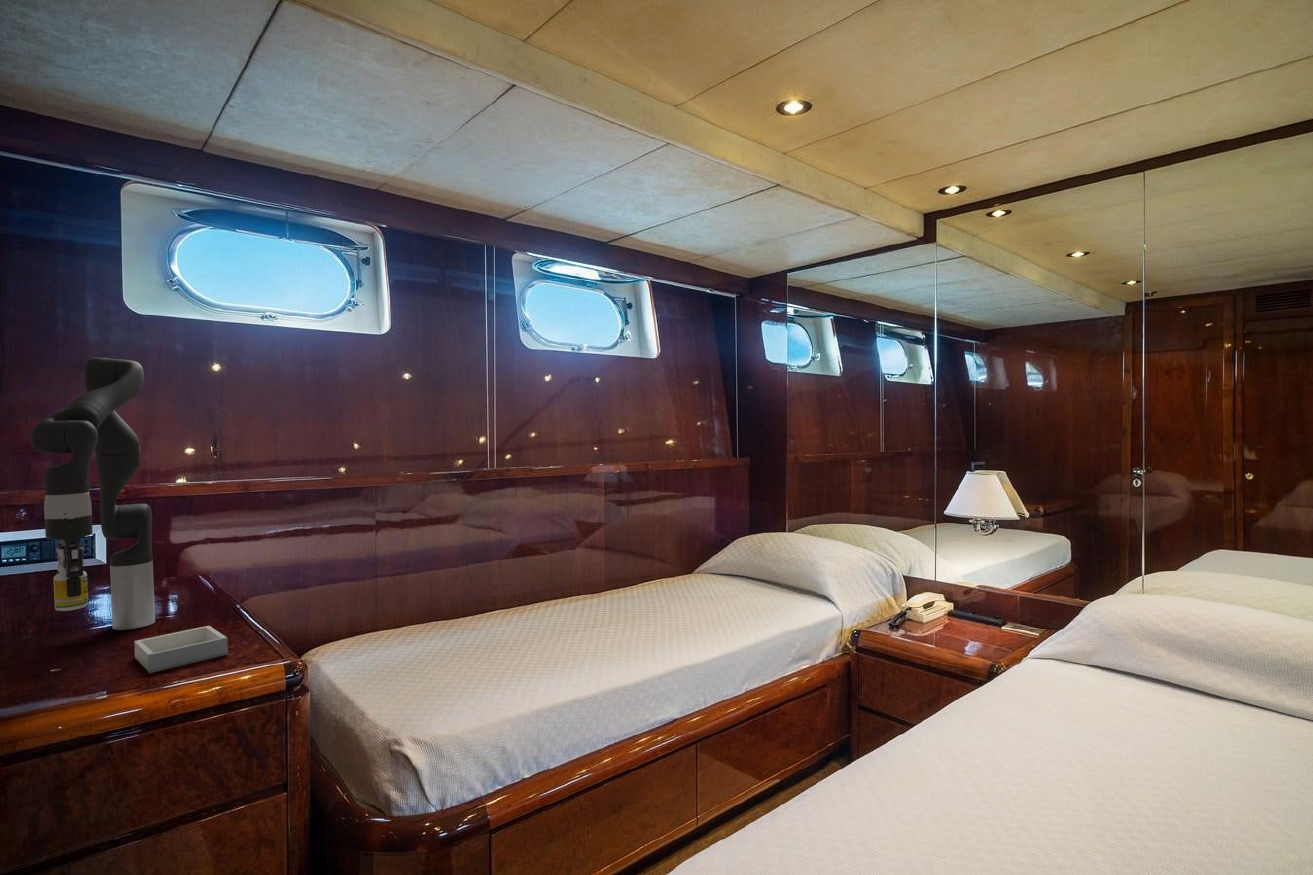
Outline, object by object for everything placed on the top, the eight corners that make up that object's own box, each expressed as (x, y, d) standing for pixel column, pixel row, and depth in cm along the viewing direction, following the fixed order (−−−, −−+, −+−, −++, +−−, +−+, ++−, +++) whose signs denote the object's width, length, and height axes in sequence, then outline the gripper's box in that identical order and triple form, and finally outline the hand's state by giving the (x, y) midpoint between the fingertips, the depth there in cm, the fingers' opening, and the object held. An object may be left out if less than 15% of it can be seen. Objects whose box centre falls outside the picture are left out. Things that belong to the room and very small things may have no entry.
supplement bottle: (53, 608, 142) (51, 563, 142) (86, 602, 146) (84, 559, 146) (56, 613, 138) (54, 566, 138) (90, 607, 142) (88, 562, 142)
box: (135, 657, 157) (134, 641, 157) (209, 641, 168) (209, 625, 168) (149, 673, 147) (148, 654, 146) (228, 654, 158) (227, 637, 158)
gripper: (40, 514, 144) (44, 592, 144) (48, 519, 134) (52, 603, 134) (86, 509, 149) (89, 585, 150) (97, 515, 139) (100, 595, 140)
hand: (72, 593), depth 142 cm, fingers closed on supplement bottle, 5 cm apart
